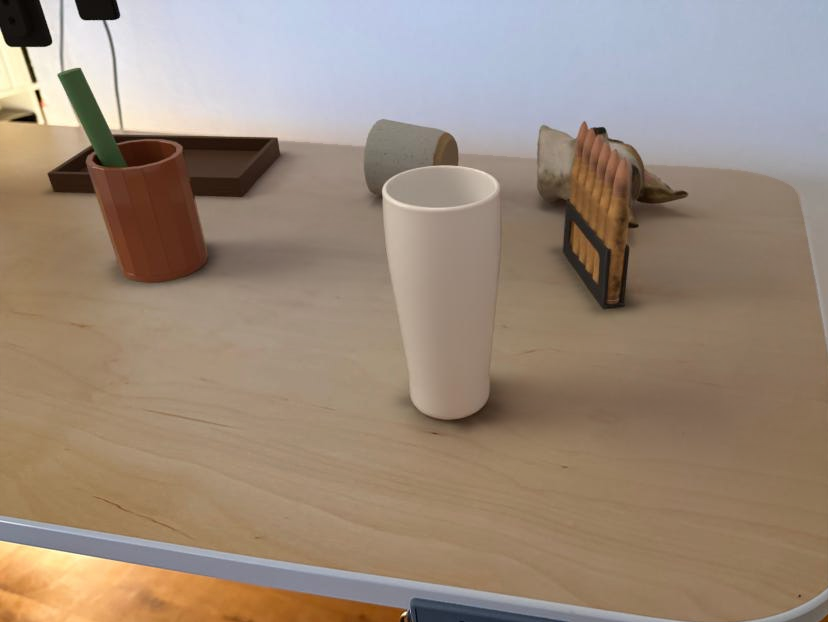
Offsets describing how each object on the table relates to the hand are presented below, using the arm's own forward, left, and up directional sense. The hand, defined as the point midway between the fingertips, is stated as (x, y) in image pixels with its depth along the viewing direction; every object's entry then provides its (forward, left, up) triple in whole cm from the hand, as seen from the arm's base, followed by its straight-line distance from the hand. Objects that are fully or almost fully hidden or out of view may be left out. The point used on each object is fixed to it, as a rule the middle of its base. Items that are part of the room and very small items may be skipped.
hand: (68, 31), depth 56 cm
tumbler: (+3, 0, -19) cm, 20 cm away
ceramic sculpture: (+42, +14, -20) cm, 48 cm away
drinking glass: (+31, -18, -20) cm, 41 cm away
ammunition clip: (+41, 0, -20) cm, 45 cm away
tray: (-6, +22, -19) cm, 30 cm away
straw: (+1, 0, -19) cm, 19 cm away
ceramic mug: (+23, +18, -20) cm, 35 cm away
